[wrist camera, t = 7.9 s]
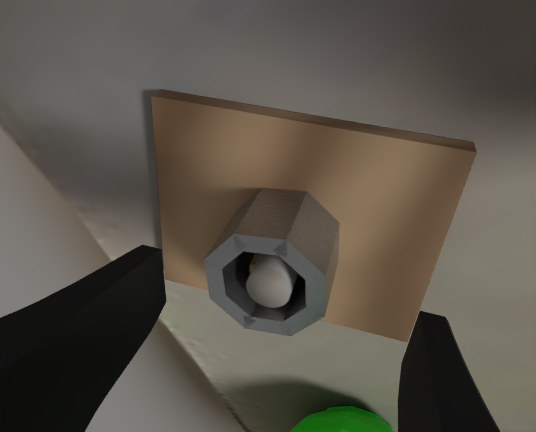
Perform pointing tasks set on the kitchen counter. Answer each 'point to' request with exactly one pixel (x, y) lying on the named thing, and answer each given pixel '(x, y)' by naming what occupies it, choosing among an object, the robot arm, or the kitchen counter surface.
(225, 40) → the kitchen counter surface
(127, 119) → the kitchen counter surface
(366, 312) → the thin wooden board
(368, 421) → the plastic bottle
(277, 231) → the hub
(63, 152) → the kitchen counter surface
